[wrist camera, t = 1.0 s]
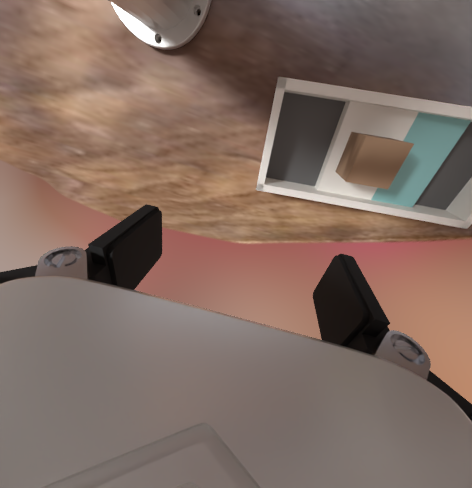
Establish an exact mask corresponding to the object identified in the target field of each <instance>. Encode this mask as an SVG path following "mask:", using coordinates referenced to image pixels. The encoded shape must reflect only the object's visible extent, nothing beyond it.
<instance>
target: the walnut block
mask: <svg viewBox="0 0 472 488" xmlns="http://www.w3.org/2000/svg"><path fill="white" fill-rule="evenodd" d="M413 145H414V144H413V143H409V142H405V141H400V140H396V139H392V138H386V137H380V136H374V135H368V134H362V133H356V132H351V134H350V137H349V139H348V142H347V144H346V147H345V149H344V151H343V154H342V156H341V159H340V161H339V164H338V166H337V169H336V171H335V172H336V173H337V174H338V175H339V176H340V177H341V178H342V179H344V180H345V181H346V182H349V183H355V184H360V185H366V186H372V187H377V188H383V189H388V188H389V187H390V185H391V183H392V182H393V180H394V178H395V176H396V175H397V173H398V171H399V169H400V168H401V166H402V164H403V162H404V161H405V159H406V157H407V156H408V154H409V152H410V150H411V149H412V147H413Z"/></svg>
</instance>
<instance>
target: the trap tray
mask: <svg viewBox="0 0 472 488" xmlns="http://www.w3.org/2000/svg"><path fill="white" fill-rule="evenodd" d="M351 132H356V133H362V134H368V135H374V136H380V137H386V138H392V139H396V140H400V141H405V142H409V143H413V144H414V145H413V147H412V149H411V150H410V152H409V154H408V156H407V157H406V159H405V161H404V162H403V164H402V166H401V168H400V169H399V171H398V173H397V175H396V176H395V178H394V180H393V182H392V183H391V185H390V187H389V188H388V189H383V188H377V187H372V186H366V185H360V184H355V183H349V182H346V181H345V180H344V179H342V178H341V177H340V176H339V175H338V174H337V173H336V172H335V171H336V169H337V166H338V164H339V161H340V159H341V156H342V154H343V151H344V149H345V147H346V144H347V142H348V139H349V137H350V134H351ZM256 190H259V191H264V192H270V193H275V194H280V195H286V196H291V197H297V198H302V199H308V200H313V201H318V202H324V203H329V204H335V205H340V206H345V207H351V208H356V209H362V210H367V211H372V212H378V213H383V214H389V215H394V216H400V217H405V218H410V219H416V220H421V221H427V222H432V223H437V224H443V225H448V226H454V227H459V228H464V229H467V228H468V227H469V226H470V225H471V224H472V107H469V106H463V105H456V104H450V103H444V102H437V101H431V100H425V99H418V98H412V97H406V96H399V95H393V94H386V93H380V92H374V91H367V90H361V89H355V88H348V87H342V86H336V85H329V84H323V83H317V82H310V81H304V80H298V79H291V78H285V77H279V76H278V81H277V86H276V91H275V96H274V101H273V106H272V111H271V116H270V121H269V126H268V131H267V136H266V141H265V147H264V152H263V157H262V162H261V167H260V172H259V177H258V182H257V187H256Z"/></svg>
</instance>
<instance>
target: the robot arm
mask: <svg viewBox="0 0 472 488" xmlns="http://www.w3.org/2000/svg"><path fill="white" fill-rule="evenodd" d="M109 1H110V2H111V4H112V6H113V8H114V10H115V11H116V13H117V15H118V16H119V18H120V20H121V21H122V22H123V23H124V25H125V26H126V27H127V28H128V30H129V31H130V32H131V33H133V34H134V35H135V36H136V37H137V38H138V39H140V40H141V41H143V42H144V43H146V44H148V45H150V46H152V47H154V48H158V49H163V50H172V49H176V48H179V47H182V46H183V45H185V44H186V43H188V42H189V41H191V40H192V39H193V37H194V36H195V35H196V34H197V33H198V32H199V30H200V28H201V27H202V25H203V23H204V21H205V19H206V16H207V14H208V11H209V8H210V4H211V0H109ZM198 11H201V14H200V16H198ZM160 38H161V39H162V40H161V43H160ZM161 254H162V212H161V211H160V210H159V209H158V207H155V206H151V205H147V204H146V205H144V206H143V207H142V208H140V209H139V210H137V211H136V212H134V213H133V214H131V215H130V216H129V217H127V218H126V219H124V220H123V221H121V222H120V223H118V224H117V225H116V226H114V227H113V228H111V229H110V230H108V231H107V232H106V233H104V234H103V235H101V236H100V237H98V238H97V239H95V240H94V241H92V242H91V243H90V244H89V248H87V249H86V250H83V249H82V248H79V247H72V246H71V247H61V248H57V249H54V250H51V251H49V252H47V253H45V254H44V255H43V256H41V257H40V259H39V261H38V265H36V266H31V267H26V268H21V269H16V270H11V271H6V272H0V488H472V404H471V403H469V402H468V401H467V400H466V399H464V398H463V397H462V396H461V395H459V394H458V393H457V392H456V391H454V390H453V389H452V388H450V386H448V385H447V384H446V383H445V382H443V381H442V380H441V379H440V378H438V377H437V376H436V375H435V374H433V373H432V372H431V371H430V370H429V369H430V359H429V357H428V355H427V353H426V352H425V351H424V349H423V348H422V347H421V346H420V345H419V344H418V343H417V342H416V341H414V340H413V339H412V338H410V337H409V336H407V335H406V334H404V333H401V332H399V331H394V330H393V331H390V330H389V329H388V327H387V326H388V325H389V324H390V322H389V321H388V319H387V317H386V315H385V314H384V312H383V310H382V308H381V306H380V305H379V303H378V301H377V299H376V297H375V295H374V294H373V292H372V290H371V288H370V286H369V285H368V283H367V281H366V279H365V277H364V276H363V274H362V272H361V270H360V268H359V267H358V265H357V263H356V261H355V259H354V258H353V257H352V256H348V255H344V254H339V255H338V256H335V257H334V258H333V260H332V262H331V263H330V265H329V267H328V268H327V270H326V272H325V274H324V275H323V277H322V278H321V280H320V282H319V284H318V285H317V287H316V289H315V290H314V293H313V299H314V304H315V309H316V314H317V319H318V324H319V328H320V333H321V338H322V340H320V339H316V338H312V337H308V336H305V335H301V334H298V333H294V332H290V331H287V330H283V329H279V328H275V327H272V326H268V325H265V324H261V323H257V322H253V321H250V320H246V319H242V318H238V317H235V316H231V315H227V314H223V313H220V312H216V311H212V310H208V309H205V308H201V307H197V306H193V305H189V304H186V303H182V302H178V301H174V300H170V299H166V298H162V297H159V296H155V295H151V294H147V293H143V292H139V291H135V290H134V289H135V288H136V287H137V285H138V284H139V283H140V281H141V280H142V279H143V278H144V277H145V276H146V274H147V273H148V272H149V271H150V269H151V268H152V267H153V266H154V264H155V263H156V262H157V261H158V259H159V258H160V256H161Z"/></svg>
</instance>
